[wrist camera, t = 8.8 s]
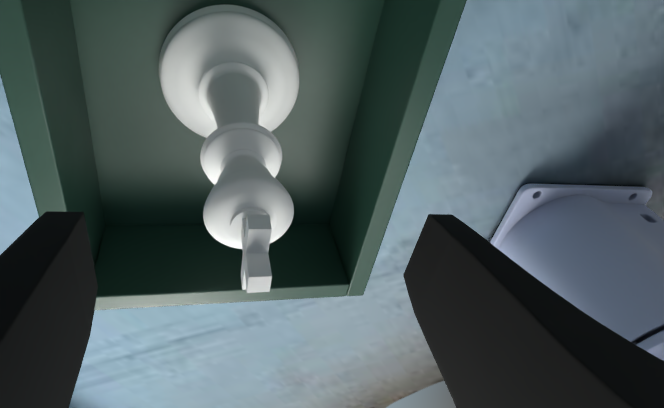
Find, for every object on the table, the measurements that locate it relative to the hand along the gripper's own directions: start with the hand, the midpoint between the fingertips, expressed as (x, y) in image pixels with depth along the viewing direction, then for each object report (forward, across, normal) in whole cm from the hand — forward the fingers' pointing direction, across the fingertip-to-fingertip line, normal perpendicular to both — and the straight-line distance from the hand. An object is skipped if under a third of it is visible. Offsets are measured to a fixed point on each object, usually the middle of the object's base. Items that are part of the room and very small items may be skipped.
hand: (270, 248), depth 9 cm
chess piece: (+9, 0, 0) cm, 9 cm away
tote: (+9, 0, 0) cm, 9 cm away
